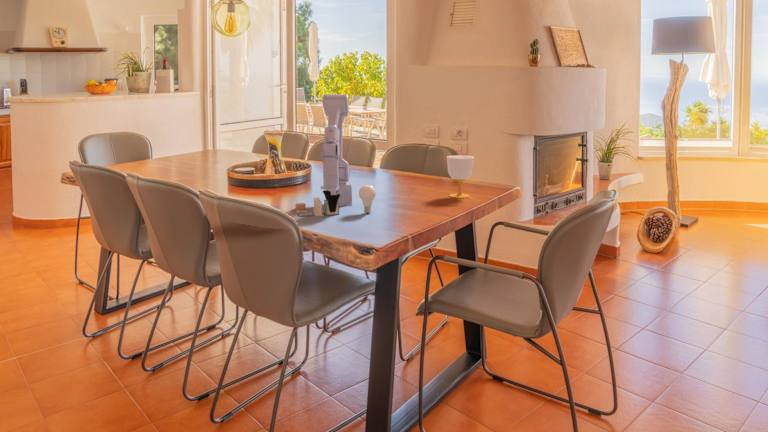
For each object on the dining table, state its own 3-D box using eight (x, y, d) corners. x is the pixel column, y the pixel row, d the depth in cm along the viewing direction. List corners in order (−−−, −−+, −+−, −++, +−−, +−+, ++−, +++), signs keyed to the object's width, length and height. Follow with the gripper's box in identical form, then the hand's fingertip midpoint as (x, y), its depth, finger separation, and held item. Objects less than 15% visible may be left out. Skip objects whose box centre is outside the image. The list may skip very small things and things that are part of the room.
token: (305, 207, 251) (305, 202, 250) (306, 210, 247) (305, 205, 246) (295, 208, 250) (295, 203, 250) (295, 210, 246) (295, 205, 246)
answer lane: (305, 207, 252) (305, 207, 252) (307, 213, 243) (307, 212, 243) (294, 208, 251) (294, 207, 251) (296, 213, 242) (296, 213, 242)
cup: (443, 193, 280) (444, 155, 276) (469, 193, 282) (470, 155, 278) (448, 199, 269) (449, 159, 265) (476, 198, 270) (477, 158, 266)
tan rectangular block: (320, 210, 248) (320, 197, 247) (323, 216, 237) (323, 203, 236) (312, 210, 248) (312, 197, 247) (315, 216, 237) (315, 203, 236)
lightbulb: (362, 215, 238) (362, 187, 236) (356, 212, 244) (356, 184, 242) (378, 214, 241) (378, 185, 238) (372, 211, 246) (371, 183, 244)
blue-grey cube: (337, 212, 245) (337, 199, 243) (339, 215, 240) (338, 201, 239) (324, 212, 244) (324, 199, 242) (326, 215, 239) (325, 202, 238)
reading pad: (311, 213, 243) (311, 211, 243) (312, 216, 237) (312, 215, 237) (298, 213, 242) (298, 212, 242) (299, 217, 236) (299, 215, 236)
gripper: (318, 172, 244) (319, 206, 247) (322, 178, 231) (323, 214, 234) (336, 171, 246) (337, 206, 249) (341, 177, 232) (342, 214, 235)
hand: (331, 210), depth 241 cm, fingers closed on blue-grey cube, 5 cm apart
